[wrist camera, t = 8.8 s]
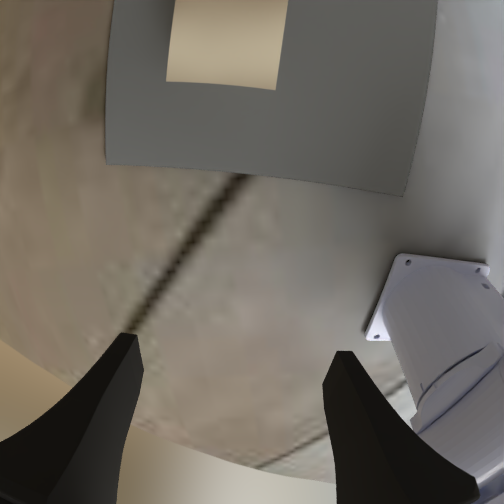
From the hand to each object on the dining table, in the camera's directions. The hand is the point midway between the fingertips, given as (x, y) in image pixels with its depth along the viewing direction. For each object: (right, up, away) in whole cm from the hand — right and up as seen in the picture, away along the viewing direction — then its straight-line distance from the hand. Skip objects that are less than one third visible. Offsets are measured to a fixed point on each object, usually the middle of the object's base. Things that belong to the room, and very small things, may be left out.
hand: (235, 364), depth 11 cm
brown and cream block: (0, +17, +1) cm, 17 cm away
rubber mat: (+2, +15, +3) cm, 16 cm away
